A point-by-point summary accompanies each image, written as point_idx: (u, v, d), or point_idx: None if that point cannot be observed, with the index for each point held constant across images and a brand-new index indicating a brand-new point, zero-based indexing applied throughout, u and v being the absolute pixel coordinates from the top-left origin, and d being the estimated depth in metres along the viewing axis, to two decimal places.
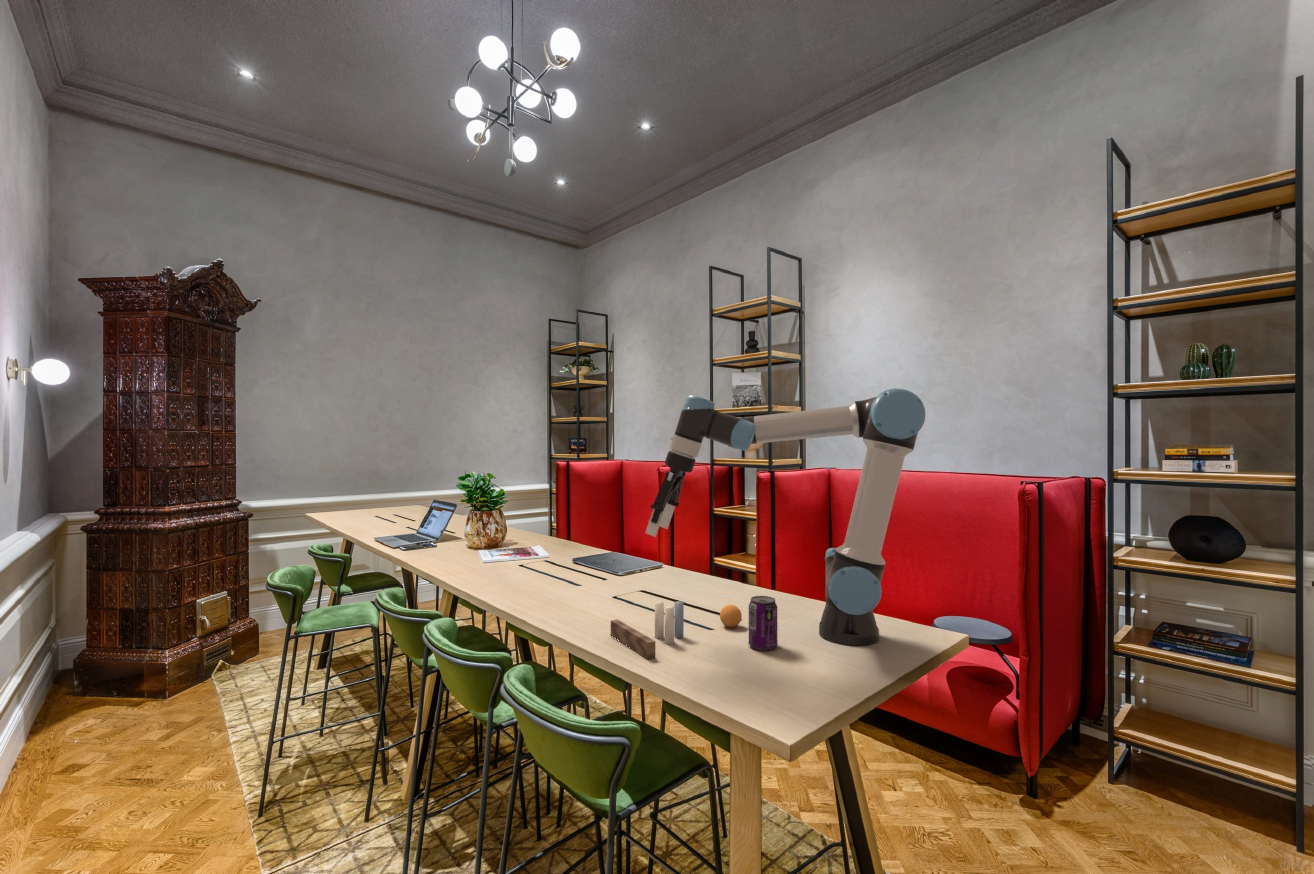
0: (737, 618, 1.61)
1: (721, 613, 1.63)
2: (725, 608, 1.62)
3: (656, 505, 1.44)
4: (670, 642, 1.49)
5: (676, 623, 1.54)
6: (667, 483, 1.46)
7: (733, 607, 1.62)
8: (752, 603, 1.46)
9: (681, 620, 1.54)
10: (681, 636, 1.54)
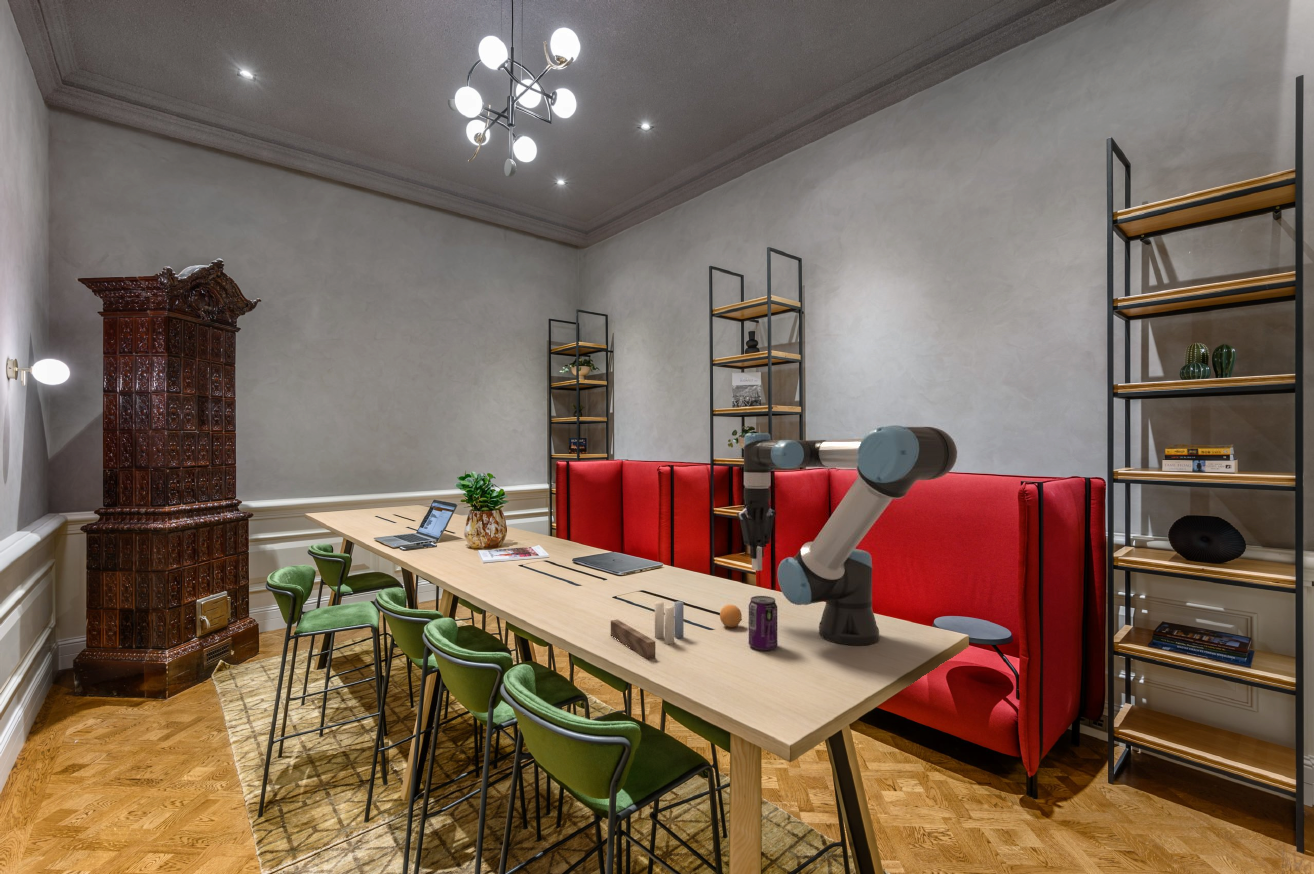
0: (737, 618, 1.61)
1: (721, 613, 1.63)
2: (725, 608, 1.62)
3: (746, 542, 1.67)
4: (670, 642, 1.49)
5: (676, 623, 1.54)
6: (742, 522, 1.66)
7: (733, 607, 1.62)
8: (752, 603, 1.46)
9: (681, 620, 1.54)
10: (681, 636, 1.54)
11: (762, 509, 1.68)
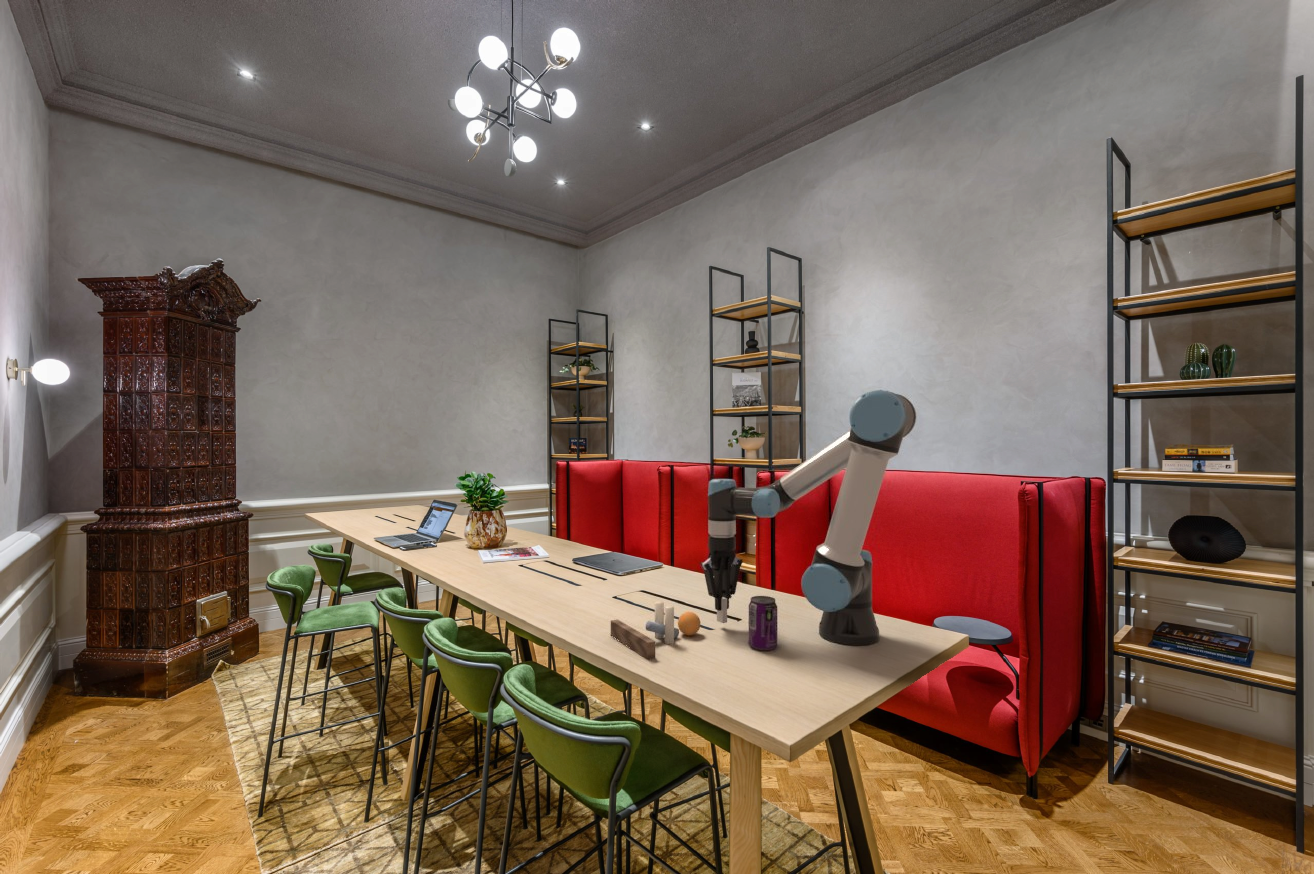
0: (696, 626, 1.54)
1: None
2: None
3: (710, 593, 1.61)
4: (670, 642, 1.49)
5: (664, 634, 1.52)
6: (706, 573, 1.59)
7: None
8: (752, 603, 1.46)
9: (664, 630, 1.51)
10: (677, 633, 1.53)
11: (727, 559, 1.61)
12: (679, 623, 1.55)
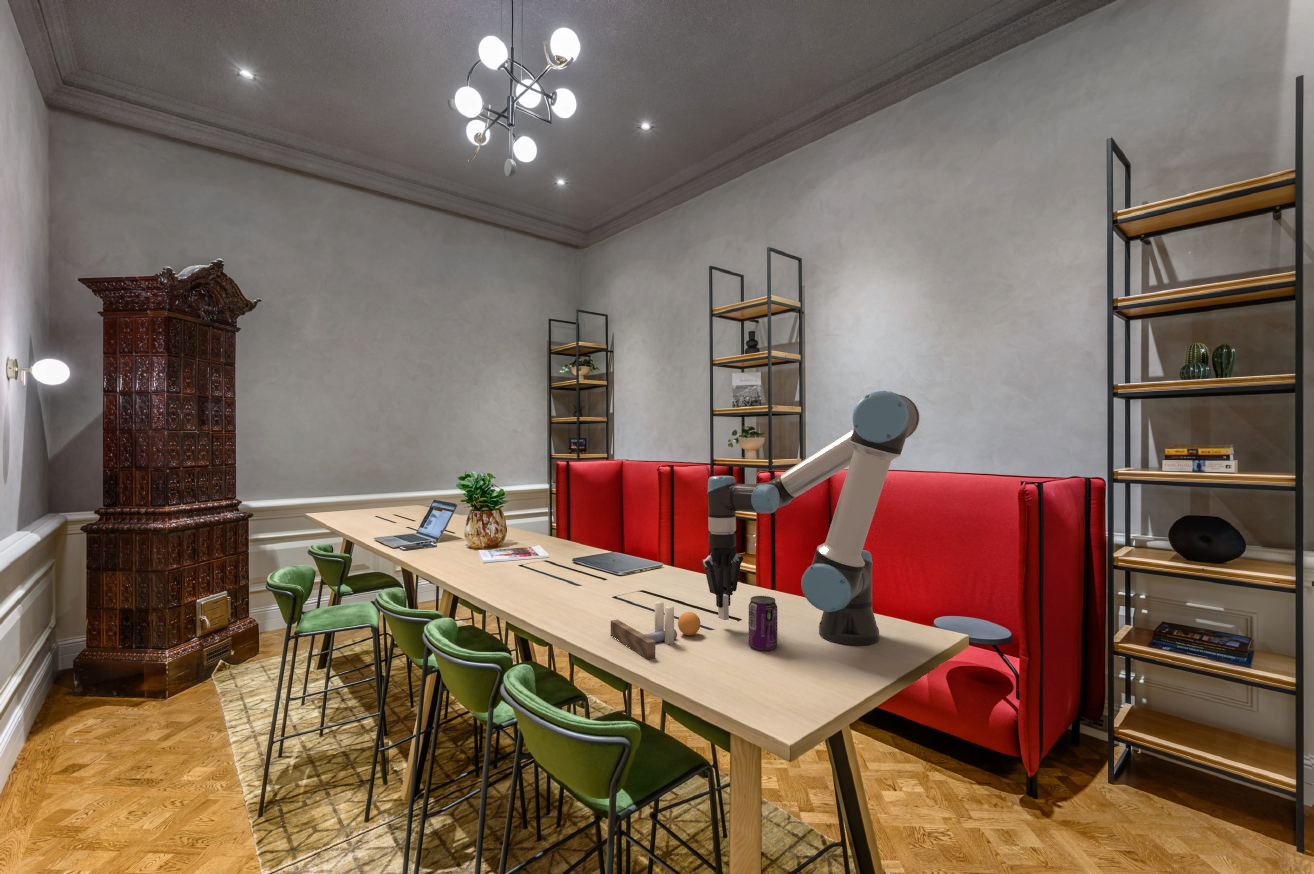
0: (696, 626, 1.54)
1: None
2: None
3: (711, 590, 1.60)
4: (670, 642, 1.49)
5: (662, 640, 1.52)
6: (707, 570, 1.59)
7: None
8: (752, 603, 1.46)
9: (661, 638, 1.51)
10: (675, 635, 1.53)
11: (728, 555, 1.61)
12: (679, 623, 1.55)
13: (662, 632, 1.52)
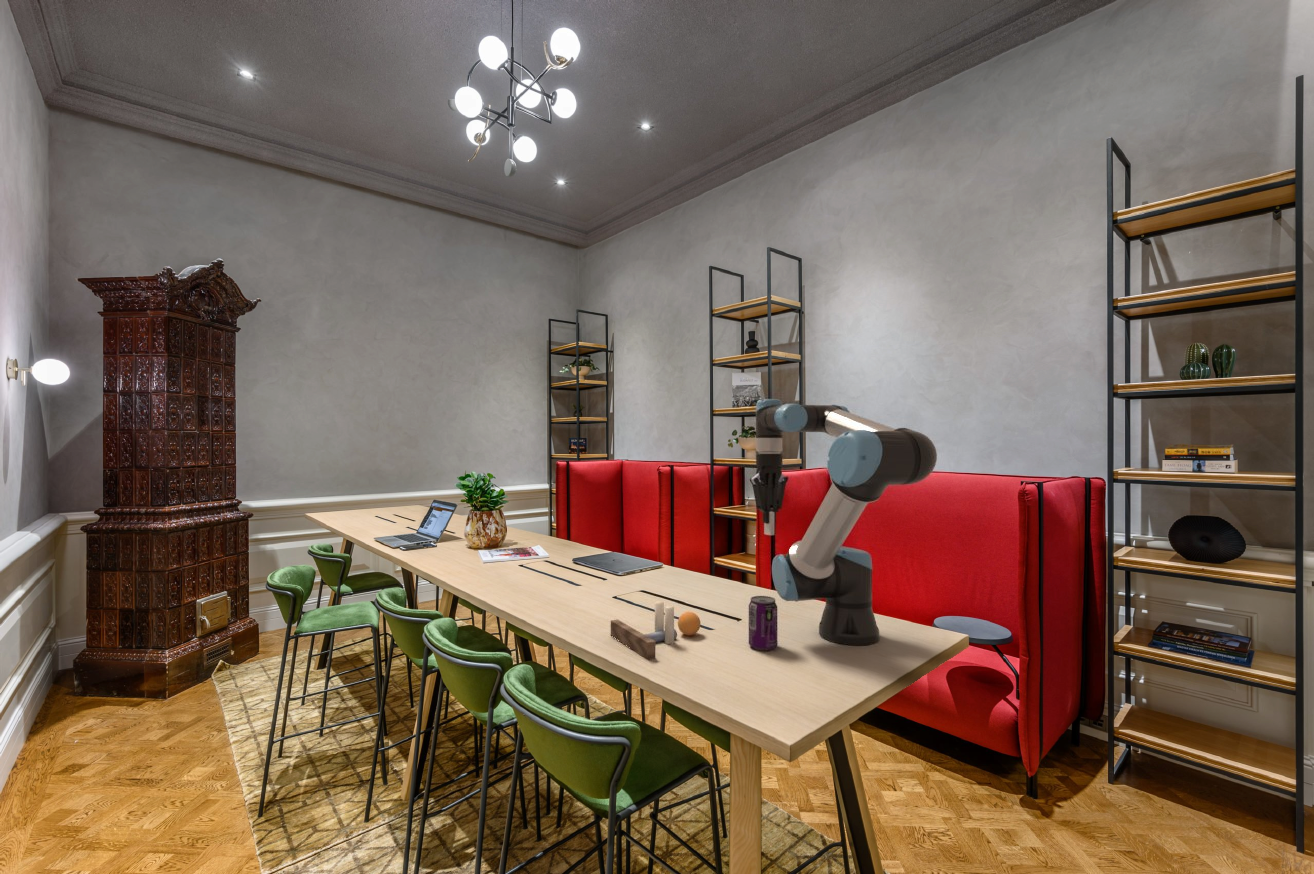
0: (696, 626, 1.54)
1: None
2: None
3: (758, 506, 1.69)
4: (670, 642, 1.49)
5: (662, 640, 1.52)
6: (755, 487, 1.68)
7: None
8: (752, 603, 1.46)
9: (661, 638, 1.51)
10: (675, 635, 1.53)
11: (774, 474, 1.70)
12: (679, 623, 1.55)
13: (662, 632, 1.52)
